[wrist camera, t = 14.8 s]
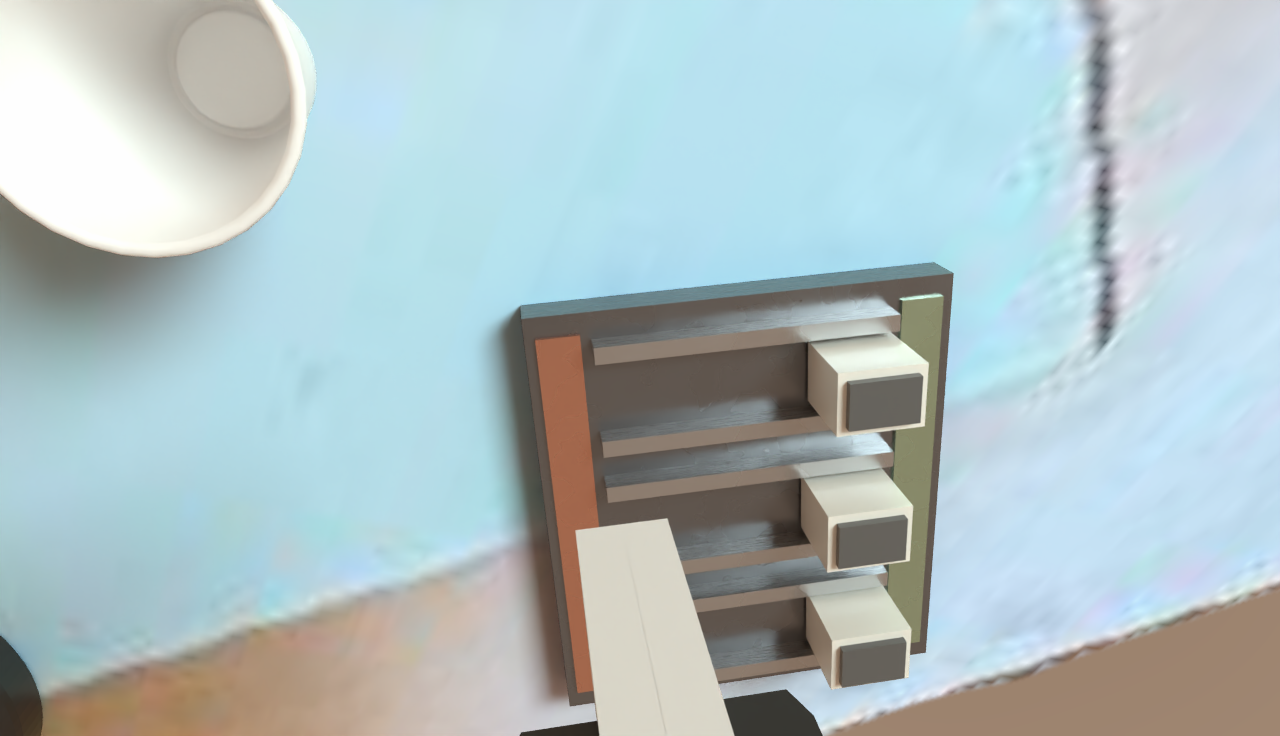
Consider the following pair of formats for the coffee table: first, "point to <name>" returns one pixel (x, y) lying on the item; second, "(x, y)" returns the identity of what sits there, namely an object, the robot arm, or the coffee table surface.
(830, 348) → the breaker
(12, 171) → the cup
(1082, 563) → the coffee table surface
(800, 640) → the panel
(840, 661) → the block
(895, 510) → the block
